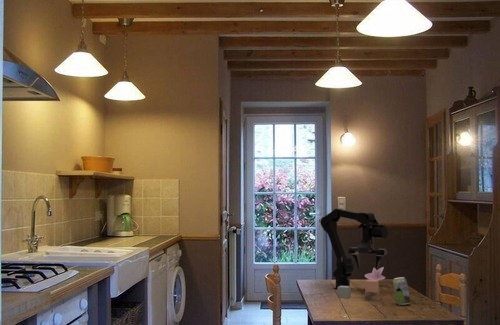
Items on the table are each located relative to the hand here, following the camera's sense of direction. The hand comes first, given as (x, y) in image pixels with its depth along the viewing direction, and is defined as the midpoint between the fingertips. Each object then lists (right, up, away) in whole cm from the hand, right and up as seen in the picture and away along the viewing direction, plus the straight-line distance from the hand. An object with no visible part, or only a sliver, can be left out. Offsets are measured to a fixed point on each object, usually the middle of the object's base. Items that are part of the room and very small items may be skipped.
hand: (367, 268), depth 282 cm
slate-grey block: (-14, -11, -14) cm, 23 cm away
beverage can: (+8, -10, -34) cm, 36 cm away
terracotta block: (-2, -7, -21) cm, 22 cm away
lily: (+9, -13, +21) cm, 27 cm away
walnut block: (-2, -11, -21) cm, 24 cm away
